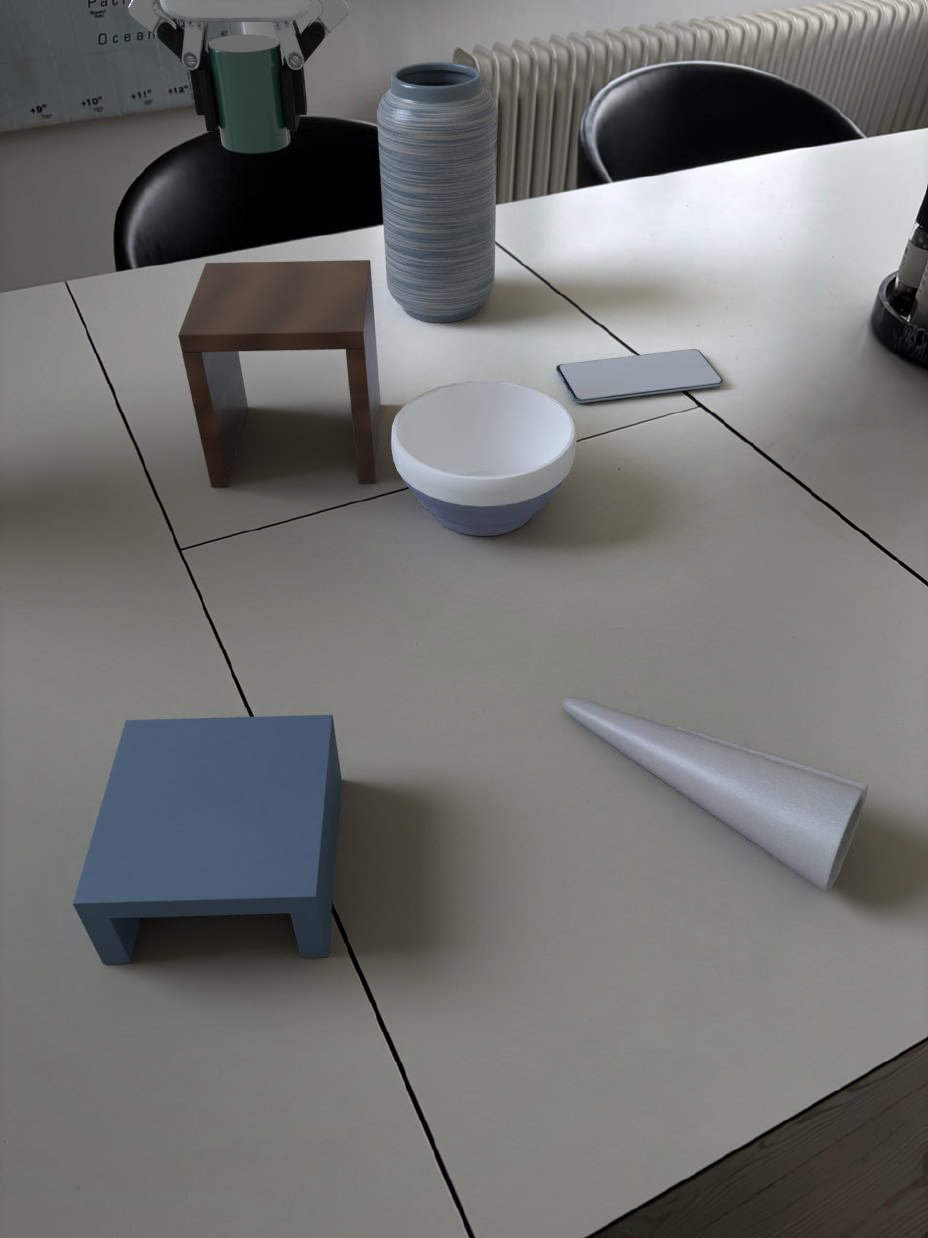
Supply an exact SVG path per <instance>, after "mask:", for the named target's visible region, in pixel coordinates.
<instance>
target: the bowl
mask: <svg viewBox="0 0 928 1238" xmlns="http://www.w3.org/2000/svg"><path fill="white" fill-rule="evenodd" d="M572 416H573V415H571V413H570V411H569V410H568V409H567V408H566V407H565V406H564V405H563V404H561V402H560V401H558V400H556V399H555V398H553V397H551V396H550V395H548V394H547V393H545V392H543V391H540V390H539V389H538V390H537V389H535V388H532V387H529V386H526V385H523V384H518V383H512V382H508V381H507V382H506V381H497V380H468V381H461V382H455V383H449V384H445V385H442V386H438V387H435V388H433V389H430V390H427V391H425V392H422V393H421V394H419V395H417V396H416V397H414V398H412V399H411V400H410V401H408V402H407V403H406V404H405V405H404V406H402V408H400V410H399V412H397V414H396V415H395V417H394V420H393V422H392V425H391V437H390V439H391V440H390V441H391V442H390V443H391V446H390V447H391V454H392V460H393V463H394V466H395V468H396V471H397V472H398V474H399V475H400V477H401V479H402V480H403V482H404V483H405V485H406V486H407V488H408V489H409V490H410V491H411V492H412V494H414V497H415V498H416V499H417V501H418V502H419V503H420V505H422V506H423V507H424V508H425V509H426V510H428V511H429V512H430V513H431V514H432V515H433V516H434V518H435V519H436V521H438V522H439V523H440V524H442V526H443V527H446V528H448V529H450V530H452V531H454V532H457V533H460V534H463V535H468V536H475V537H477V536H478V537H488V536H489V537H491V536H492V537H493V536H497V535H503V534H507V533H510V532H513V531H515V530H518V529H519V528H521V527H522V526H524V525H526V524H527V523H528V522H529V521H530V520H531V518H533V516H534V515H535V514H536V513H537V512H538V511H540V510H541V509H543V507H545V506H546V504H547V503H548V502H549V501H550V500H551V499H552V496H553V495H554V494H555V493H556V491H558V489H559V488H560V487H561V486H562V484H563V483H564V481H565V479H566V477H567V476H568V475H569V473H570V471H571V469H572V467H573V465H574V461H575V456H576V450H577V441H578V439H577V428H576V424H575V420H574V418H573V417H572Z"/></svg>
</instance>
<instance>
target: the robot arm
mask: <svg viewBox="0 0 928 1238" xmlns="http://www.w3.org/2000/svg"><path fill="white" fill-rule="evenodd" d="M157 1H158V0H130V3H129V5H128V8H127V9H128V14H129V16H130V17H131V18H132V19H133V20H134V21H136V22H137V23H139V24H140V25H141V26H143V28H145V29H146V30H148V31H149V32H151V33H153V34H154V35H155V36H156V37H157V38H158V39H159V41H160V42H161V43H162V44H163V45H164V46H165V47H167V49H168V50H170V51H171V52H172V53H173V54H174V55H175V56H176V57H177V58H178V59H179V60H180V61H181V63H182V65H183V67H185V69H187V70H189V77H190V82H191V88H192V95H193V101H194V108H195V112H196V115H197V116H203V117H204V122H205V129H206V132H207V133H208V132H209V133H210V132H212V133H213V132H214V133H215V132H216V130H218V129H219V121H218V115H217V108H216V101H215V94H214V87H213V80H212V74H211V67H210V60H209V53H208V50H207V46H208V36H209V29H210V28H209V27H210V23H271V24H272V27H273V29H274V31H275V34H276V37H277V39H278V40H279V43H280V45H281V52H282V55H283V57H282V61H283V67H282V69H281V84H282V94H283V103H284V113H285V122H286V129H289V131H290V132H298V128H299V125H300V120H301V116H307V115H308V100H307V99H308V98H307V89H306V88H307V87H306V79H305V78H306V77H305V67H304V65H305V64H306V63H307V61H308V60H309V58H310V57H311V56H312V55H313V53H314V52H315V51H316V50H317V48H318V47H319V46H320V45H321V43H322V42H323V41H324V39H325V38H326V37H327V36H329V35H330V34H331V33H332V32H333V31H334V30H335V29H336V28H337V27H338V26H339V25H340V24H341V23H342V22H343V21H345V20H346V18H347V16H348V15H349V9H350V6H349V3H348V1H347V0H318V2H319V3H320V4H321V6H322V9H321V11H320V12H319V13H318V14H317V15H316V16H315V17H314V18H313V19H312V20H310V21H309V22H308V24H307V25H306V26H305V28H304V29H303V30H301V28H300V25H299V22H298V20H299V19H301V18H303V17H304V16H306V15H307V14H308V13H309V11H310V8H311V2H312V1H313V0H159V3H160V6H161V8H162V10H163V11H162V10H161V9H160V8H159V6H158V2H157ZM166 14H167V15H168V16H167V15H166ZM171 17H172V18H171ZM174 19H176V20H179V21H184V22H185V24H184V28H183V27H182V26H181V25H180V24H179V23H178V22H177V21H176V20H174Z"/></svg>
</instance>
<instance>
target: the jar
mask: <svg viewBox="0 0 928 1238" xmlns="http://www.w3.org/2000/svg"><path fill="white" fill-rule="evenodd" d="M207 52H208V53H209V60H210V67H211V74H212V80H213V87H214V94H215V101H216V108H217V115H218V121H219V127H218V129H219V134H220V141H221V145H222V147H223V148H224V149H226V150H228V151H230V152H234V153H238V154H239V153H240V154H252V155H253V154H267V153H272V152H275V151H279V150H281V149H285V148H286V147H287V146H289V145H290V144H291V131H289V129H286V122H285V113H284V103H283V94H282V84H281V69H282V67H283V51H282V48H281V45H280V43H279V40H278V38H276V37H272V36H268V35H264V34H263V35H262V34H234V35H225V36H221V37H218V38H215V39H212V40H210V41H209V42H207Z"/></svg>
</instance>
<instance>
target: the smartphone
mask: <svg viewBox="0 0 928 1238" xmlns="http://www.w3.org/2000/svg"><path fill="white" fill-rule="evenodd" d="M555 370H556V373H557V374H558V376H559V377H560V380H561V382H562V384H563V385H564V386H565V388H566V390H567V392H568V393H569V395H570V397H571V399H572V400H573V401H574V402H575V403H577V404H585V403H594V402H602V401H611V400H618V399H626V398H635V397H642V396H650V395H658V394H659V395H660V394H667V393H676V392H683V391H691V390H698V389H709V388H716V387H720V386H722V385H723V383H724V379H723V378H722V376H721V375H720V374H719V372H718V371H717V370H716V368H714V366H713V365H712V364H711V362H710V361H708V359H707V357H705V355H704V354H703V353H702V352H701V351H700V350H699V349H697V348H689V349H681V350H670V351H664V352H663V351H662V352H655V353H646V354H636V355H627V356H620V357H611V358H602V359H595V360H585V361H577V362H568V363H560V364H558V365H556V367H555Z"/></svg>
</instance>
